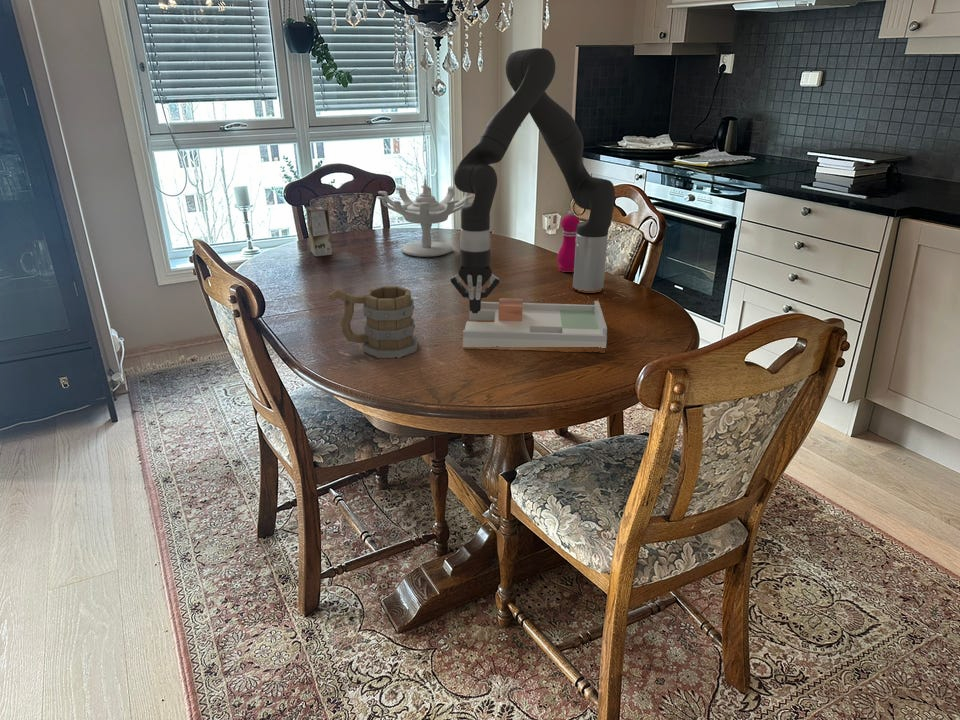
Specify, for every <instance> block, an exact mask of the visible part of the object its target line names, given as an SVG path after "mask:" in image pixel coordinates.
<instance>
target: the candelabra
mask: <svg viewBox="0 0 960 720" xmlns="http://www.w3.org/2000/svg"><path fill="white" fill-rule="evenodd" d="M421 188H422V192H421V193H420V194H418V195H417V196H416V197H415V200H414V201H413V200H412V199H411V198H410V197H409V196H408V192H407V190H406V188H404V187H400V186H396V187H394V189H395V190H396V191H398V195H399V198H400V199H401V200H402V202H403V204H402V203H401V201H400V200H392V199H391V198H390V197H389V195H388V191H384V190H379V191H378V192H377V193H378V194H379V195H380V196H379V195H378V196H377V199H378V200H381V202H382V205H383V206H384V207H386V208H387V209H389V210H390V211H393V212H396V213H397V214H399V215H402V217H403V218H404V220H405V221H406V222H407V223H412V224H419V225H420V227H421V230H422V231H421V232H422V234H421V241H414V242H409V243H406V244H403V246H401V249H400V251H401V252H402V253H404V254H406V255H409V256H411V257H413V256H414V257H424V258H427V257H429V258H430V257H432V258H433V257H439V256H444V255H446V254H450V253H451V252H452V251H453V246H451V245H450V244H449V243H445V242H442V241H441V242H440V241H433V240H432V234H431V229H432V226H433V224H439V223H443V222H446V221H447V220H448V218H449V216H450V215H451V214H454V213H456V212H458V211H461V209H462V207H463V205H465V204H468V203H469V200H471V199H474V198H475V195H474V194H472V195H470V194H471V193H466V192H464V195H463V197H462V199H460V200H459V199H458V200H457V199H455V200H453V198H455V197H454V195H455V187H454V186H451V185H450V186H448V187H447V192H446V195H445V196H444V198H443V199H442V200H441V201H438V200H436V197H435V196H434V195H433V194H432V188H431V187H430V186H428V184H427V180H426V177H424V181H423V185H421ZM381 195H383V196H381Z"/></svg>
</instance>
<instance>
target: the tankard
mask: <svg viewBox="0 0 960 720" xmlns="http://www.w3.org/2000/svg"><path fill="white" fill-rule="evenodd" d="M411 293H412V291H411V290H410V289H408V288H405V287H402V286H396V285H395V286H393V285H391V286H389V285H386V286H379V287H374V288H370V289H368V290H367V291H366V293H365V295H353V294H351V293H348V292H346V291H344V290H341V289H339V288H337V289H335V290H333V291H332V292H330V293H329V294H328V298H329V299H330V301H331V302H335V300H338V299H339V300H342V301H343V302H344V303H343V305H344V307H343V309H344V312H343V314H342V318H341V322H340V328H341V329H340V330H341V333H342V335H343V336H344V337H345V339H346V340H347V342H351V343H358V344H361V343H363V345H362V352H363V353H365V352H366V353H365V354H367V353H368V354H367V355H369V354H370V356H372V355H373V356H372V357H374V356H375V358H376V357H377V358H376V359H400V357H401V358H403V357H402V356H404V357H406V356H409V355H411V353H412V354H414V353H416V352H417V351H418V345H419V340H418V338H419V337H417V336H416V335H414V332H415V328H416V324H415V318H412V316H413V315H414V309H415V304H414V303H415V302H414V299H412V296H411V295H412V294H411ZM355 304H363V306H362V309H363V316H364V317H366V321H365V325H364V332H363V333H355V332H353V330H352V328H351V327H352V326H351V322H352V319H353V316H354V313H355V310H354V309H355ZM415 351H416V352H415ZM413 352H414V353H413ZM408 354H409V355H408ZM405 355H406V356H405ZM379 357H381V358H379ZM395 357H397V358H395Z"/></svg>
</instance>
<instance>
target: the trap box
mask: <svg viewBox="0 0 960 720" xmlns="http://www.w3.org/2000/svg"><path fill="white" fill-rule="evenodd" d="M498 312H499V301H497V302H496V301H481V309H480V311H478V313H472V311H470V309H468V320H467V321H466V323H465V327H464V329H463V330H462V348H463V347H492V346H493V347H496V346H499V347H599V348H600V347H601V348H606V349H607V343H608V342H607V341H608V327H607V324H606V323H607V322H606V321H605V320H606V319H605V317H604V314H603V311H602V307H601V305H600V302H599V300H594V304H573V303H570V304H569V303H538V302H537V303H535V302H523V304H522V321H498ZM469 320H494V322H477V321H469Z"/></svg>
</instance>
